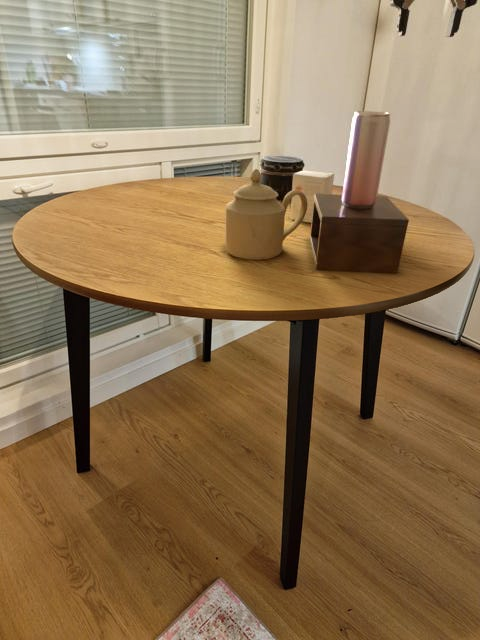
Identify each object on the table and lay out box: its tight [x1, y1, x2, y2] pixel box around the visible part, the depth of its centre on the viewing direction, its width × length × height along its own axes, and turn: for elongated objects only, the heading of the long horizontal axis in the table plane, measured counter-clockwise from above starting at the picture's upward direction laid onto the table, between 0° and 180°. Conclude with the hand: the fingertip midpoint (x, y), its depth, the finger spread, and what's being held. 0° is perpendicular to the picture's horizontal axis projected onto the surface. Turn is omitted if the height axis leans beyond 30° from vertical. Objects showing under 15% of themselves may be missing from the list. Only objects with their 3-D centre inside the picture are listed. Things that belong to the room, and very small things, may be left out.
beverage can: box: [341, 110, 391, 209], centre depth 72 cm, size 6×6×15 cm
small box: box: [290, 169, 335, 223], centre depth 98 cm, size 8×6×10 cm
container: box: [258, 155, 305, 200], centre depth 120 cm, size 13×13×10 cm
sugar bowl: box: [224, 168, 307, 261], centre depth 79 cm, size 15×11×15 cm
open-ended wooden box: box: [309, 194, 410, 274], centre depth 78 cm, size 14×16×9 cm
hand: (425, 36), depth 77 cm, fingers open, 8 cm apart
